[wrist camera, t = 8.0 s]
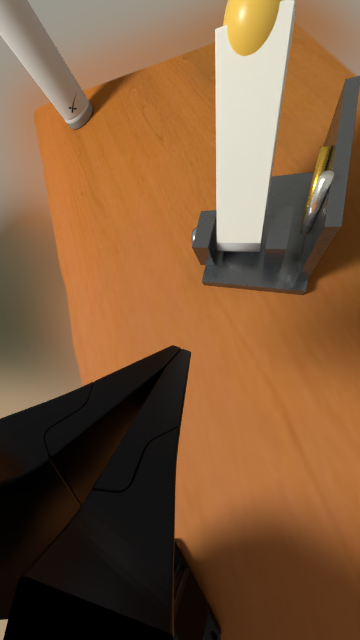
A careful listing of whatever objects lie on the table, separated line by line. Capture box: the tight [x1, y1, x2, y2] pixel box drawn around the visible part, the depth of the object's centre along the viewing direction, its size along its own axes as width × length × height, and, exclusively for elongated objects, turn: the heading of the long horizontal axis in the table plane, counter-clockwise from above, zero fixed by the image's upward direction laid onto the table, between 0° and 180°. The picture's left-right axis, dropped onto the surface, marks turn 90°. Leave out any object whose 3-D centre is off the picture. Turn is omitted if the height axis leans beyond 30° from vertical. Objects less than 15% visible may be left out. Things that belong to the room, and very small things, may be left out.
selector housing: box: [192, 76, 360, 295], centre depth 17 cm, size 13×11×9 cm
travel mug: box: [0, 0, 93, 129], centre depth 31 cm, size 6×7×20 cm
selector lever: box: [215, 0, 295, 252], centre depth 15 cm, size 4×4×15 cm
